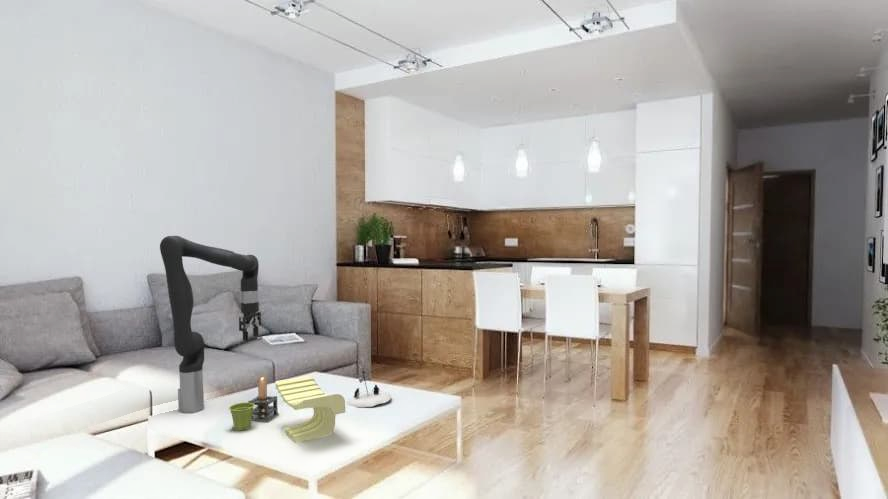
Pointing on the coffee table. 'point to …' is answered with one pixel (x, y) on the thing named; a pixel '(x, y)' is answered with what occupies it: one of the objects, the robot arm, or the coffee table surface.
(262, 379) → the tube
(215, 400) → the coffee table surface
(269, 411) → the metal frame cube
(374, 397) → the figurine
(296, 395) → the slatted curved stool
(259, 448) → the coffee table surface
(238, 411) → the plant pot
